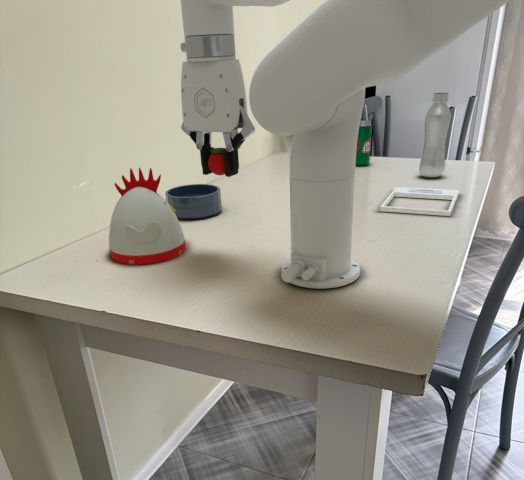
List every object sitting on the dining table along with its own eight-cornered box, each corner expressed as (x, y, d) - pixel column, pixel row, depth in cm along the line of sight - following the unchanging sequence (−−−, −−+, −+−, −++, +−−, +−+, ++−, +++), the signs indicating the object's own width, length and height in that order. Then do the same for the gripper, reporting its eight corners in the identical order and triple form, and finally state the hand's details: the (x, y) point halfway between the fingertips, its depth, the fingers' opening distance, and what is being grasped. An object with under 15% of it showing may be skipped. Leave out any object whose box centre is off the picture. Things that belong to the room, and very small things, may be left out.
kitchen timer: (186, 260, 91) (175, 173, 83) (108, 268, 89) (89, 180, 82) (184, 235, 103) (174, 157, 95) (114, 242, 101) (98, 163, 93)
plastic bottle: (446, 175, 137) (458, 92, 126) (439, 180, 132) (450, 94, 121) (422, 173, 140) (431, 91, 129) (414, 178, 135) (423, 94, 124)
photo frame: (459, 189, 119) (450, 210, 105) (458, 194, 119) (450, 216, 105) (396, 186, 124) (379, 205, 110) (395, 190, 125) (379, 211, 111)
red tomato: (224, 178, 85) (222, 151, 83) (204, 176, 87) (201, 150, 84) (236, 173, 88) (235, 147, 86) (217, 171, 89) (215, 146, 87)
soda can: (365, 167, 150) (367, 122, 143) (349, 165, 152) (351, 122, 146) (372, 163, 153) (374, 120, 147) (356, 162, 156) (358, 119, 149)
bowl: (201, 223, 109) (198, 199, 107) (157, 217, 115) (154, 194, 112) (232, 208, 118) (230, 186, 116) (190, 203, 124) (187, 182, 121)
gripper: (152, 52, 79) (168, 175, 88) (244, 48, 71) (251, 183, 81) (181, 50, 84) (194, 166, 94) (270, 47, 77) (274, 173, 86)
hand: (220, 172), depth 87 cm, fingers closed on red tomato, 3 cm apart
